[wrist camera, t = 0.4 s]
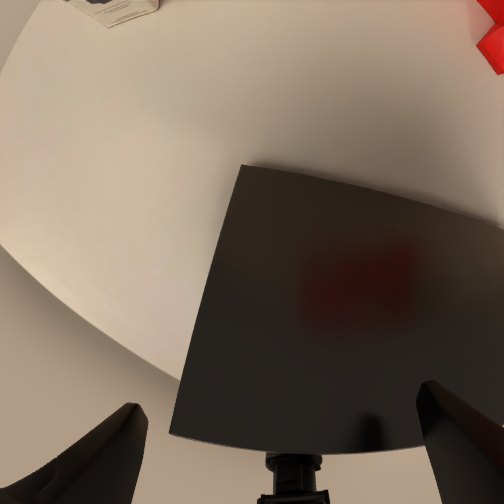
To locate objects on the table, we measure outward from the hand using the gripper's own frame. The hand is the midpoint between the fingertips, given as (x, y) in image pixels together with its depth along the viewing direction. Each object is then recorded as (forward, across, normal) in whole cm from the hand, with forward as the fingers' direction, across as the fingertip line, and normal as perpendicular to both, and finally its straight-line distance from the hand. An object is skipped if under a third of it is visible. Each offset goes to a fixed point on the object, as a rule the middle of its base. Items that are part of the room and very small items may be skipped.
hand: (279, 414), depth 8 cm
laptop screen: (+6, -9, +1) cm, 11 cm away
